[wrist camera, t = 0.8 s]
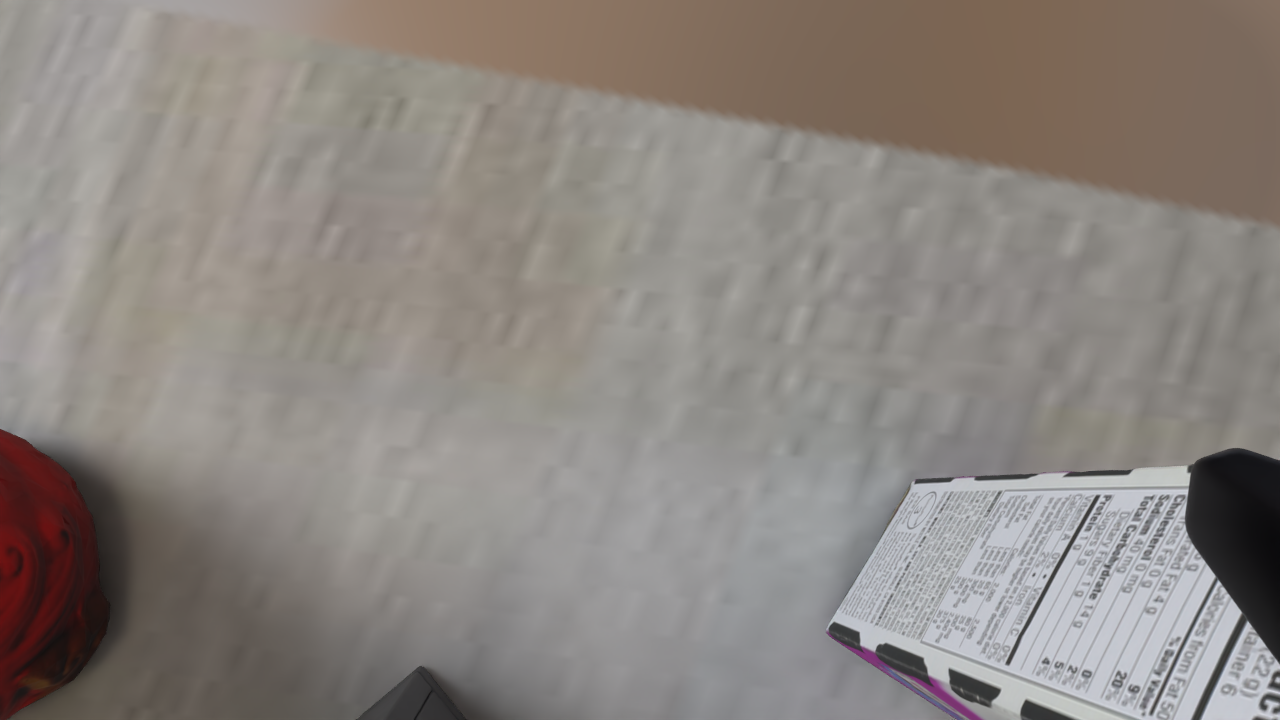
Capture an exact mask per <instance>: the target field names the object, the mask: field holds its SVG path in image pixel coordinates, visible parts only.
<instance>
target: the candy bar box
mask: <svg viewBox="0 0 1280 720" xmlns="http://www.w3.org/2000/svg"><path fill="white" fill-rule="evenodd" d="M1279 461H1280V460H1279ZM1193 465H1194V464H1191V465H1183V466H1165V467H1149V468H1137V469H1132V470H1127V471H1124V470H1106V471H1087V472H1068V471H1063V472H1049V473H1046V472H1044V473H1041V474H1026V475H1023V474H1019V475H999V476H993V475H992V476H969V477H964V476H963V477H957V478H932V479H916V480H914V481H913V482H912V483H911V484H910V486H909V488H908V489H907V491H906V493H905V494H904V496H903V497H902V499H901V501H900V502H899V504H898V506H897V507H896V509H895V510H894V512H893V514H892V516H891V518H890V520H889V522H888V524H887V526H886V528H885V530H884V532H883V534H882V536H881V538H880V540H879V542H878V544H877V546H876V548H875V549H874V551H873V553H872V554H871V556H870V557H869V559H868V560H867V562H866V563H865V565H864V567H863V569H862V570H861V572H860V573H859V575H858V576H857V578H856V580H855V581H854V583H853V585H852V586H851V588H850V590H849V591H848V593H847V594H846V596H845V598H844V599H843V601H842V603H841V605H840V607H839V608H838V610H837V612H836V613H835V615H834V616H833V618H832V620H831V621H830V623H829V625H828V627H827V629H826V633H827V634H828V635H829V636H830V637H831V638H833V639H834V640H836V641H837V642H839V643H840V644H842V645H843V646H845V647H846V648H848V649H849V650H851V651H852V652H854V653H855V654H857V655H858V656H860V657H861V658H863V659H865V660H866V661H868V662H869V663H871V664H872V665H874V666H875V667H877V668H878V669H880V670H881V671H883V672H884V673H886V674H887V675H889V676H890V677H892V678H894V679H895V680H897V681H898V682H900V683H901V684H903V685H904V686H906V687H907V688H909V689H910V690H912V691H914V692H915V693H917V694H918V695H920V696H921V697H923V698H924V699H926V700H927V701H929V702H931V703H932V704H934V705H935V706H937V707H938V708H940V709H941V710H943V711H945V712H946V713H948V714H949V715H951V716H952V717H954V718H955V719H957V720H1280V664H1279V663H1278V662H1277V660H1276V659H1275V658H1274V656H1273V655H1272V654H1271V652H1270V651H1269V650H1268V648H1267V647H1266V645H1265V644H1264V643H1263V641H1262V640H1261V639H1260V637H1259V636H1258V634H1257V633H1256V632H1255V630H1254V629H1253V627H1252V626H1251V625H1250V623H1249V622H1248V621H1247V619H1246V618H1245V616H1244V615H1243V614H1242V612H1241V611H1240V609H1239V608H1238V607H1237V605H1236V604H1235V603H1234V601H1233V600H1232V598H1231V597H1230V596H1229V594H1228V593H1227V591H1226V590H1225V589H1224V587H1223V586H1222V585H1221V583H1220V582H1219V580H1218V579H1217V578H1216V576H1215V575H1214V573H1213V572H1212V571H1211V569H1210V568H1209V567H1208V565H1207V564H1206V562H1205V561H1204V560H1203V558H1202V557H1201V555H1200V554H1199V553H1198V551H1197V550H1196V549H1195V547H1194V546H1193V544H1192V542H1191V540H1190V538H1189V536H1188V534H1187V531H1186V527H1185V511H1186V504H1187V496H1188V489H1189V482H1190V474H1191V469H1192V467H1193Z"/></svg>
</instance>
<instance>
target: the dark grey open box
mask: <svg viewBox="0 0 1280 720" xmlns="http://www.w3.org/2000/svg"><path fill="white" fill-rule="evenodd" d="M356 720H466V719H465V717H464V716H463V715H462V714H461V713H460V711H459V710H458V709H457V708H456V706H455V705H454V704H453V703H452V702H451V700H450V699H449V698H448V697H447V695H446V694H445V693H444V692H443V690H442V689H441V688H440V687H439V686H438V684H437V683H436V682H435V681H434V679H433V678H432V677H431V676H430V675H429V673H428V672H427V671H426V670H425V668H424V667H422V666H420V667H418V668H417V669H416V670H415V671H414V672H412V673H411V674H410V675H409V676H408V677H406V678H405V679H404V680H403V681H402V682H400V683H399V684H398V685H397V686H396V687H394V688H393V689H392V690H391V691H390V692H388V693H387V694H386V695H385V696H384V697H382V698H381V699H380V700H379V701H378V702H376V703H375V704H374V705H373V706H372V707H371V708H369V709H368V710H367V711H366V712H365V713H363V714H362V715H361V716H360V717H359V718H357V719H356Z"/></svg>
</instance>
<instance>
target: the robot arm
mask: <svg viewBox="0 0 1280 720" xmlns="http://www.w3.org/2000/svg"><path fill="white" fill-rule="evenodd" d="M1185 527H1186V531H1187V534H1188V536H1189V538H1190V540H1191V542H1192V544H1193V546H1194V547H1195V549H1196V550H1197V551H1198V553H1199V554H1200V555H1201V557H1202V558H1203V560H1204V561H1205V562H1206V564H1207V565H1208V567H1209V568H1210V569H1211V571H1212V572H1213V573H1214V575H1215V576H1216V578H1217V579H1218V580H1219V582H1220V583H1221V585H1222V586H1223V587H1224V589H1225V590H1226V591H1227V593H1228V594H1229V596H1230V597H1231V598H1232V600H1233V601H1234V603H1235V604H1236V605H1237V607H1238V608H1239V609H1240V611H1241V612H1242V614H1243V615H1244V616H1245V618H1246V619H1247V621H1248V622H1249V623H1250V625H1251V626H1252V627H1253V629H1254V630H1255V632H1256V633H1257V634H1258V636H1259V637H1260V639H1261V640H1262V641H1263V643H1264V644H1265V645H1266V647H1267V648H1268V650H1269V651H1270V652H1271V654H1272V655H1273V656H1274V658H1275V659H1276V660H1277V662H1278V663H1279V664H1280V461H1279V460H1276V459H1273V458H1270V457H1267V456H1264V455H1261V454H1258V453H1255V452H1252V451H1249V450H1245V449H1240V448H1232V449H1227V450H1224V451H1221V452H1218V453H1215V454H1212V455H1209V456H1206V457H1203V458H1201V459H1199V460H1197V461H1196V462H1195V464H1194V465H1193V467H1192V469H1191V474H1190V482H1189V489H1188V496H1187V504H1186V511H1185Z"/></svg>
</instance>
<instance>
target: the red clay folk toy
mask: <svg viewBox="0 0 1280 720" xmlns="http://www.w3.org/2000/svg"><path fill="white" fill-rule="evenodd" d="M99 568H100V563H99V554H98V544H97V538H96V533H95V527H94V522H93V516H92V515H91V513H90V512H89V510H88V508H87V506H86V504H85V501H84V499H83V497H82V495H81V493H80V492H79V490H78V488H77V486H76V482H75V481H74V480H73V478H72V477H71V476H70V474H69V473H68V472H67V471H66V470H65V469H64V468H62V467H61V466H60V465H59V464H58V463H57V462H55V461H54V460H53V459H51V458H50V457H48V456H47V455H45V454H43V453H41V452H40V451H38V450H37V449H36V448H35V447H33V446H32V445H31V444H30V443H29V442H27V441H26V440H24V439H22V438H20V437H18V436H15V435H13V434H11V433H8V432H6V431H4V430H2V429H0V720H7V719H8V718H9V717H11V716H12V715H14V714H15V713H16V712H18V711H19V710H20V709H22V708H24V707H26V706H27V705H29V704H31V703H33V702H35V701H37V700H39V699H41V698H43V697H45V696H46V695H48V694H50V693H52V692H53V691H55V690H57V689H59V688H60V687H62V686H64V685H66V684H67V683H69V682H71V681H72V680H74V679H75V678H76V676H77V675H78V674H79V673H80V671H81V670H82V669H83V667H84V666H85V665H86V663H87V662H88V661H89V659H90V658H91V657H92V655H93V654H94V653H95V651H96V650H97V648H98V646H99V644H100V642H101V641H102V639H103V638H104V636H105V635H106V632H107V627H108V623H109V615H110V603H109V602H108V600H107V598H106V597H105V595H104V593H103V592H102V590H101V587H100V582H99Z"/></svg>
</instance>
